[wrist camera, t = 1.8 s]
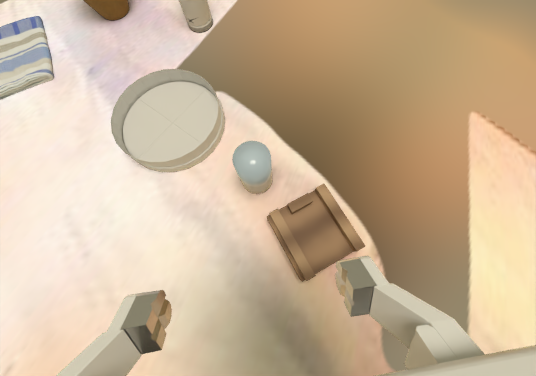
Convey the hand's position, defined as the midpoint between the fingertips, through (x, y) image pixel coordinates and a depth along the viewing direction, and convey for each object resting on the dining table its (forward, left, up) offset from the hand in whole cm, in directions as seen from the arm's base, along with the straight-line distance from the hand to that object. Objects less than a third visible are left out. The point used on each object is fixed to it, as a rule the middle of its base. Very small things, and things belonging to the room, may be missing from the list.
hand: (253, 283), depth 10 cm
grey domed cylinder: (+15, -5, -30) cm, 34 cm away
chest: (+1, -9, -30) cm, 31 cm away
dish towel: (+74, +34, -31) cm, 87 cm away
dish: (+35, +5, -31) cm, 47 cm away
